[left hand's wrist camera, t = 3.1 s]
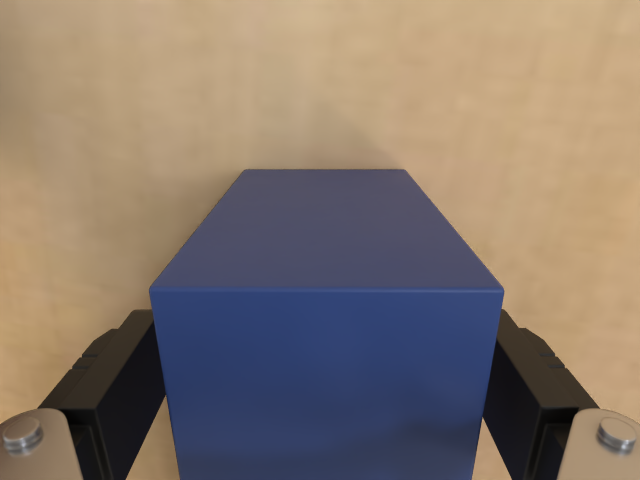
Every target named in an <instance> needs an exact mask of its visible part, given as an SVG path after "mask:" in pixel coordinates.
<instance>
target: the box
mask: <svg viewBox="0 0 640 480" xmlns="http://www.w3.org/2000/svg"><path fill="white" fill-rule="evenodd" d="M149 294H150V300H151V306H152V312H153V318H154V324H155V330H156V336H157V342H158V348H159V354H160V360H161V366H162V372H163V378H164V384H165V391H166V397H167V403H168V409H169V415H170V421H171V427H172V433H173V439H174V445H175V451H176V457H177V463H178V469H179V475H180V480H472V474H473V468H474V462H475V457H476V451H477V445H478V440H479V434H480V428H481V422H482V417H483V411H484V405H485V400H486V394H487V388H488V382H489V377H490V371H491V365H492V359H493V354H494V348H495V342H496V337H497V331H498V325H499V319H500V314H501V308H502V302H503V297H504V288H503V287H502V286H501V284H500V283H499V282H498V281H497V280H496V278H495V277H494V276H493V275H492V274H491V272H490V271H489V270H488V269H487V268H486V266H485V265H484V264H483V263H482V262H481V260H480V259H479V258H478V257H477V256H476V254H475V253H474V252H473V251H472V250H471V248H470V247H469V246H468V245H467V243H466V242H465V241H464V240H463V239H462V237H461V236H460V235H459V234H458V233H457V231H456V230H455V229H454V228H453V227H452V225H451V224H450V223H449V222H448V221H447V219H446V218H445V217H444V216H443V215H442V213H441V212H440V211H439V210H438V209H437V207H436V206H435V205H434V204H433V203H432V201H431V200H430V199H429V198H428V197H427V195H426V194H425V193H424V192H423V191H422V189H421V188H420V187H419V186H418V185H417V183H416V182H415V181H414V180H413V179H412V177H411V176H410V175H409V174H408V173H407V171H406V170H244V171H243V172H242V174H241V175H240V176H239V177H238V179H237V180H236V181H235V182H234V183H233V185H232V186H231V187H230V188H229V190H228V191H227V192H226V193H225V195H224V196H223V197H222V198H221V200H220V201H219V202H218V203H217V205H216V206H215V207H214V208H213V209H212V211H211V212H210V213H209V214H208V216H207V217H206V218H205V219H204V221H203V222H202V223H201V224H200V226H199V227H198V228H197V229H196V231H195V232H194V233H193V234H192V236H191V237H190V238H189V239H188V240H187V242H186V243H185V244H184V245H183V247H182V248H181V249H180V250H179V252H178V253H177V254H176V255H175V257H174V258H173V259H172V260H171V262H170V263H169V264H168V265H167V267H166V268H165V269H164V270H163V271H162V273H161V274H160V275H159V276H158V278H157V279H156V280H155V281H154V283H153V284H152V285H151V286H150V289H149Z"/></svg>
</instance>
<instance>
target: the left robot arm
mask: <svg viewBox="0 0 640 480" xmlns="http://www.w3.org/2000/svg"><path fill="white" fill-rule="evenodd" d="M564 366H565V365H564V364H563V363H562V362H561V360H560V359H559V358H558V357H555V353H554V352H553V351H552V350H551V348H550V347H549V346H548V345H547V344H546V342H545V341H544V340H543V339H541V338H540V337H538V336H537V335H535V334H534V333H532V332H531V331H529V330H528V329H526V328H518V326H517V325H516V324H515V322H514V321H513V320H512V319H511V317H510V316H509V315H508V313H507V312H506V311H505V310H504V309H501V314H500V319H499V325H498V331H497V337H496V342H495V348H494V354H493V359H492V365H491V371H490V377H489V382H488V388H487V394H486V400H485V405H484V411H483V418H484V421H485V423H486V425H487V427H488V429H489V431H490V433H491V436H492V438H493V440H494V442H495V444H496V446H497V448H498V451H499V453H500V455H501V457H502V459H503V461H504V463H505V465H506V468H507V470H508V472H509V474H510V476H511V478H512V480H640V424H639V423H637V422H636V421H634V420H632V419H630V418H628V417H626V416H624V415H622V414H619V413H616V412H613V411H610V410H605V409H600V408H599V406H598V405H597V404H596V403H595V402H594V400H593V399H592V398H591V397H590V396H589V394H588V393H587V392H586V391H585V390H584V388H583V387H582V386H581V385H580V383H579V382H578V381H577V380H576V379H575V377H574V376H573V375H572V374H571V373H570V371H569V370H568V369H567V368H565V367H564ZM165 395H166V391H165V384H164V378H163V372H162V366H161V360H160V354H159V348H158V342H157V336H156V330H155V324H154V318H153V312H152V310H133V311H132V312H131V313H130V315H129V316H128V317H127V319H126V320H125V321H124V322H123V324H122V325H121V326H120V328H119V329H111V330H109V331H108V332H106V333H105V334H103V335H102V336H100V337H99V338H97V339H96V340H94V341H93V342H92V343H91V345H90V346H89V347H88V348H87V349H86V351H85V352H84V353H83V354H82V358H79V359H78V360H77V361H76V363H75V364H74V365H73V366H72V369H70V370H69V371H68V372H67V373H66V375H65V376H64V377H63V378H62V379H61V381H60V382H59V383H58V384H57V385H56V387H55V388H54V389H53V390H52V391H51V393H50V394H49V395H48V396H47V397H46V399H45V400H44V401H43V402H42V403H41V405H40V406H39V407H38V408H37V409H35V410H30V411H27V412H24V413H21V414H18V415H16V416H14V417H12V418H10V419H8V420H6V421H4V422H3V423H1V424H0V480H126V478H127V475H128V473H129V471H130V469H131V467H132V465H133V463H134V461H135V459H136V456H137V454H138V452H139V450H140V448H141V446H142V444H143V442H144V440H145V437H146V435H147V433H148V431H149V429H150V427H151V425H152V423H153V421H154V418H155V416H156V414H157V412H158V410H159V408H160V406H161V404H162V402H163V399H164V397H165Z"/></svg>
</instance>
